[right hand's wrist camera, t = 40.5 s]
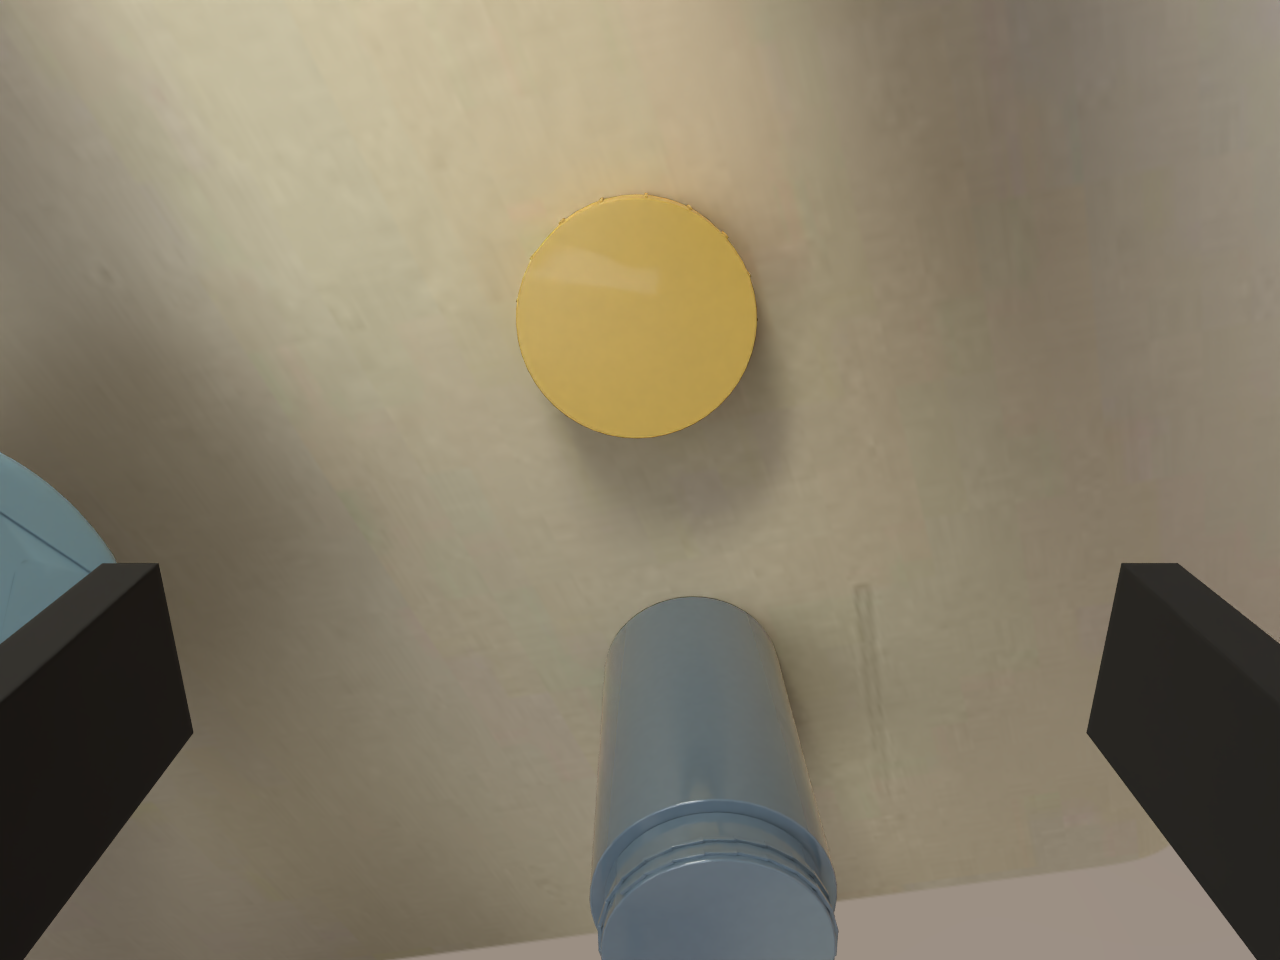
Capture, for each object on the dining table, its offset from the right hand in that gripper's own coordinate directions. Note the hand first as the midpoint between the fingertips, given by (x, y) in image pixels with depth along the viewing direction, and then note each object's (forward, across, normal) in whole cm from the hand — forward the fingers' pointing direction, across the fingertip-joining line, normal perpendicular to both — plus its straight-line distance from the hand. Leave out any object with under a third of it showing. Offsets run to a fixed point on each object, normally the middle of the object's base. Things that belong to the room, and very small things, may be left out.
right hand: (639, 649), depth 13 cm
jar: (+27, +2, -18) cm, 32 cm away
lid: (+25, 0, 0) cm, 25 cm away
